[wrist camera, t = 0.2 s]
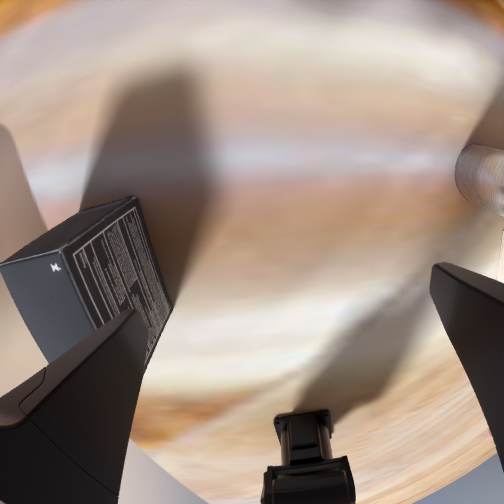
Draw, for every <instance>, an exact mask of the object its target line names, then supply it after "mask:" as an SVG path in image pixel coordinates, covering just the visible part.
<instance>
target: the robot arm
mask: <svg viewBox="0 0 504 504" xmlns="http://www.w3.org/2000/svg"><path fill="white" fill-rule="evenodd" d="M430 295H431V297H432V300H433V302H434V304H435V306H436V309H437V311H438V314H439V316H440V318H441V321H442V323H443V326H444V328H445V331H446V333H447V335H448V337H449V339H450V341H451V343H452V345H453V347H454V349H455V351H456V353H457V355H458V357H459V359H460V361H461V363H462V365H463V367H464V369H465V372H466V374H467V376H468V378H469V380H470V383H471V385H472V387H473V389H474V392H475V394H476V396H477V399H478V401H479V403H480V406H481V408H482V411H483V413H484V416H485V418H486V421H487V424H488V426H489V429H490V432H491V434H492V437H493V440H494V443H495V445H496V449H497V452H498V455H499V459H500V462H501V465H502V468H503V472H504V283H502V282H499V281H497V280H494V279H491V278H489V277H486V276H483V275H481V274H478V273H475V272H472V271H470V270H467V269H464V268H461V267H458V266H456V265H453V264H450V263H447V262H441V263H436V264H434V265H433V267H432V272H431V280H430ZM148 338H149V332H148V329H147V326H146V324H145V322H144V320H143V317H142V315H141V313H140V311H139V310H138V309H127V310H124V311H123V312H121V313H120V314H118V315H117V316H116V317H114V318H113V319H111V320H110V321H108V322H107V323H106V324H104V325H103V326H101V327H100V328H99V329H97V330H96V331H94V332H93V333H91V334H90V335H89V336H87V337H86V338H84V339H83V340H82V341H80V342H79V343H77V344H76V345H75V346H73V347H72V348H70V349H69V350H68V351H66V352H65V353H64V354H62V355H61V356H59V357H58V358H57V359H55V360H54V361H53V362H51V363H50V364H48V365H47V367H44V368H43V369H41V370H40V371H39V372H37V373H36V374H35V375H33V376H32V377H30V378H29V379H28V380H26V381H25V382H23V383H22V384H20V385H19V386H17V387H16V388H14V389H13V390H11V391H10V392H9V393H6V394H5V395H3V396H2V397H1V398H0V504H118V498H119V497H118V496H119V491H120V484H121V479H122V473H123V467H124V462H125V456H126V451H127V446H128V441H129V437H130V432H131V427H132V422H133V418H134V413H135V409H136V404H137V400H138V396H139V392H140V387H141V383H142V379H143V373H144V366H145V359H146V352H147V345H148ZM274 426H275V429H276V432H277V435H278V439H279V442H280V445H281V458H282V466H268V468H267V472H265V473H264V484H263V490H262V495H261V500H260V501H261V504H355V501H356V494H355V485H354V480H353V476H352V473H351V469H350V465H349V462H348V458H347V455H346V456H342V457H340V458H334V459H333V456H332V450H331V444H330V439H331V438H332V437H331V420H330V412H329V411H328V410H324V411H318V412H313V413H307V414H301V415H295V416H288V417H281V418H275V419H274Z"/></svg>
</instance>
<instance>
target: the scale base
mask: <svg viewBox="0 0 504 504" xmlns="http://www.w3.org/2000/svg"><path fill="white" fill-rule="evenodd" d="M497 281H499V282H502V283H504V231H503V234H502V244H501V252H500V260H499V267H498V274H497Z"/></svg>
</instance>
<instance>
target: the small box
mask: <svg viewBox="0 0 504 504" xmlns="http://www.w3.org/2000/svg"><path fill="white" fill-rule="evenodd" d="M0 272H1V274H2V276H3V279H4V281H5V283H6V286H7V288H8V290H9V292H10V294H11V296H12V298H13V300H14V303H15V305H16V306H17V308H18V311H19V312H20V314H21V316H22V318H23V320H24V322H25V324H26V326H27V327H28V329H29V331H30V333H31V335H32V336H33V338H34V340H35V341H36V343H37V345H38V347H39V348H40V350H41V352H42V353H43V355H44V356H45V358H46V360H47V361H48V363H49V364H50V363H51V362H53V361H54V360H55V359H57V358H58V357H59V356H61V355H62V354H64V353H65V352H66V351H68V350H69V349H70V348H72V347H73V346H75V345H76V344H77V343H79V342H80V341H82V340H83V339H84V338H86V337H87V336H89V335H90V334H91V333H93V332H94V331H96V330H97V329H99V328H100V327H101V326H103V325H104V324H106V323H107V322H108V321H110V320H111V319H113V318H114V317H116V316H117V315H118V314H120V313H121V312H123V311H124V310H127V309H138V310H139V311H140V313H141V315H142V317H143V320H144V322H145V324H146V326H147V329H148V332H149V338H148V345H147V352H146V359H145V366H144V373H145V371H146V369H147V365H148V364H149V361H150V359H151V357H152V354H153V352H154V350H155V348H156V345H157V343H158V341H159V339H160V336H161V333H162V332H163V330H164V327H165V325H166V323H167V321H168V319H169V317H170V315H171V313H172V311H173V308H172V305H171V302H170V299H169V296H168V293H167V290H166V288H165V285H164V282H163V279H162V276H161V273H160V270H159V267H158V264H157V261H156V258H155V254H154V251H153V248H152V245H151V242H150V239H149V235H148V232H147V229H146V225H145V222H144V218H143V215H142V212H141V208H140V205H139V202H138V198H137V197H135V196H129V197H127V198H124V199H123V200H118V201H113V202H112V203H108V204H104V205H100V206H96V207H91V208H88V209H85V210H83V211H80V212H78V213H76V214H75V215H73V216H72V217H70V218H68V219H67V220H65V221H64V222H62V223H60V224H59V225H57V226H55V227H54V228H52V229H51V230H49V231H48V232H46V233H44V234H43V235H41V236H40V237H38V238H37V239H35V240H34V241H32V242H30V243H29V244H28V245H26V246H25V247H23V248H22V249H20V250H19V251H18V252H16V253H15V254H13V255H12V256H10V257H9V258H8V259H6V260H5V261H3V262H1V263H0ZM144 373H143V376H144Z"/></svg>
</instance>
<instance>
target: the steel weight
mask: <svg viewBox="0 0 504 504" xmlns="http://www.w3.org/2000/svg"><path fill="white" fill-rule="evenodd" d="M455 180H456V185H457V188H458V190H459V192H460V193H461V195H462V196H463V197H464V198H466V199H467V200H469V201H472V202H474V203H476V204H478V205H480V206H482V207H484V208H486V209H488V210H490V211H492V212H494V213H496V214H497V215H499V216H501V217H503V218H504V150H500V149H496V148H491V147H487V146H482V145H477V144H473V145H469V146H467V147H466V148H465V149H464V150H463V151H462V152H461V153H460V155H459V157H458V159H457V162H456V167H455Z"/></svg>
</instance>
